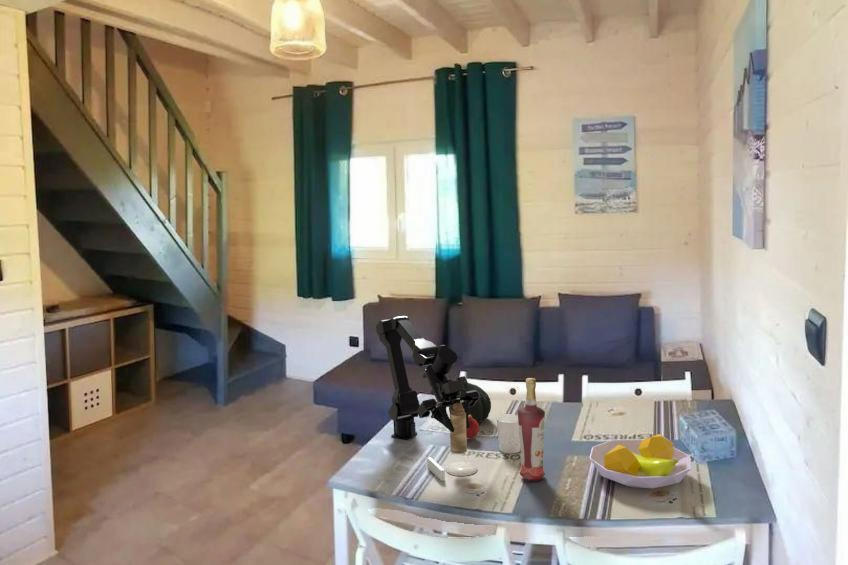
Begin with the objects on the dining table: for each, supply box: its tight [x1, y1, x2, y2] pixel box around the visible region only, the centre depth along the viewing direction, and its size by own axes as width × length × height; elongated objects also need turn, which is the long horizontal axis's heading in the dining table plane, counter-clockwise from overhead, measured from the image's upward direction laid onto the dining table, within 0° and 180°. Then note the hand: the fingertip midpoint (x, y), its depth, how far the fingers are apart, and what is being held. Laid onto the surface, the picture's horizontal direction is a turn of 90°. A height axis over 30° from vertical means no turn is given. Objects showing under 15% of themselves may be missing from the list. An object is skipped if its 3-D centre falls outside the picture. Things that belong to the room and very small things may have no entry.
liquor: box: [517, 377, 546, 482], centre depth 178 cm, size 7×7×28 cm
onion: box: [466, 415, 480, 440], centre depth 210 cm, size 6×6×8 cm
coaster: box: [445, 461, 478, 477], centre depth 187 cm, size 9×9×1 cm
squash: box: [448, 382, 492, 425], centre depth 227 cm, size 14×15×15 cm
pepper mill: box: [449, 403, 468, 455], centre depth 185 cm, size 5×5×14 cm
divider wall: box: [427, 457, 446, 482], centre depth 185 cm, size 10×1×3 cm, turn 22°
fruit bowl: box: [589, 433, 692, 489], centre depth 176 cm, size 28×27×11 cm
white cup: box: [496, 413, 520, 454], centre depth 200 cm, size 8×8×10 cm
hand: (460, 429), depth 184 cm, fingers closed on pepper mill, 5 cm apart
